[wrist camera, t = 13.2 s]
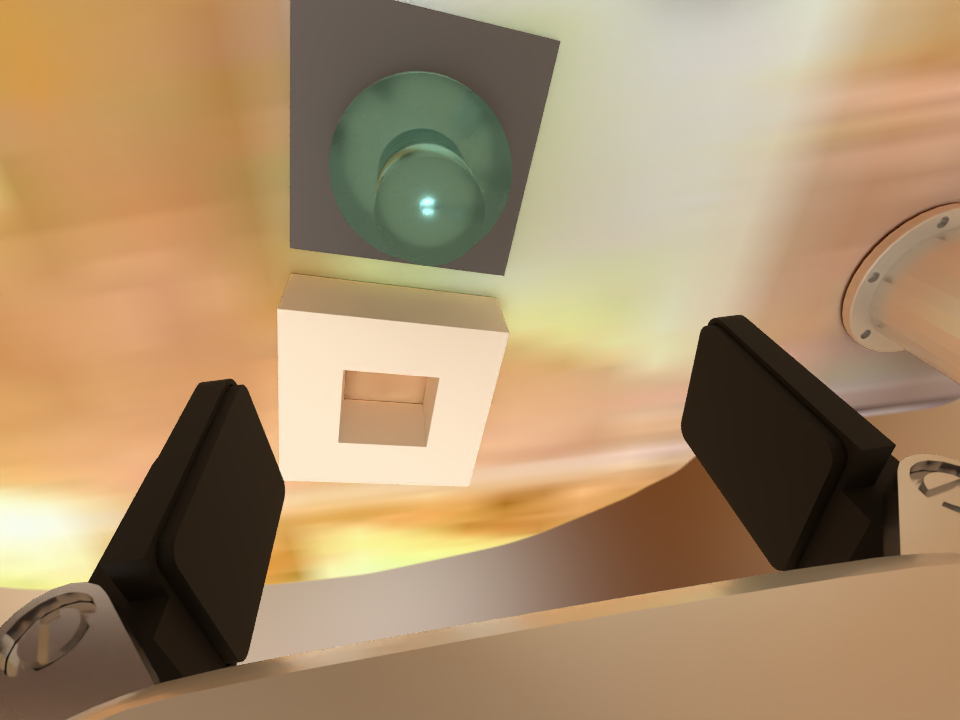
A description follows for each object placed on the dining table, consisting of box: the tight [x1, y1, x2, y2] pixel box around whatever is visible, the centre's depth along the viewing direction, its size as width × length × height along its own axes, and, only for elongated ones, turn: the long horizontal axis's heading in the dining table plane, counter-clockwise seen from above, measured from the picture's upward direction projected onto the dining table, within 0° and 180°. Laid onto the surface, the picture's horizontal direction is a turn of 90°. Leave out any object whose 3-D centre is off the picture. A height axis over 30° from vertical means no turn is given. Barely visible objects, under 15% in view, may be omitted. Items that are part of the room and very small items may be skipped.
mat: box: [290, 0, 560, 276], centre depth 30 cm, size 14×14×1 cm
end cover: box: [329, 71, 512, 266], centre depth 25 cm, size 9×9×12 cm
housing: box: [277, 273, 509, 486], centre depth 37 cm, size 14×14×5 cm
